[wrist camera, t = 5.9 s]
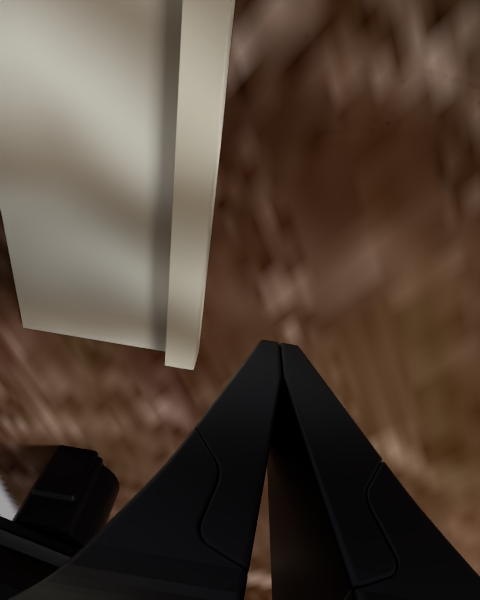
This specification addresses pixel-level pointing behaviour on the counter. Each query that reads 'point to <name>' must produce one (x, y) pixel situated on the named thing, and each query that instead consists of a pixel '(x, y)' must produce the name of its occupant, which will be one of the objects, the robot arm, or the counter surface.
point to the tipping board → (113, 164)
